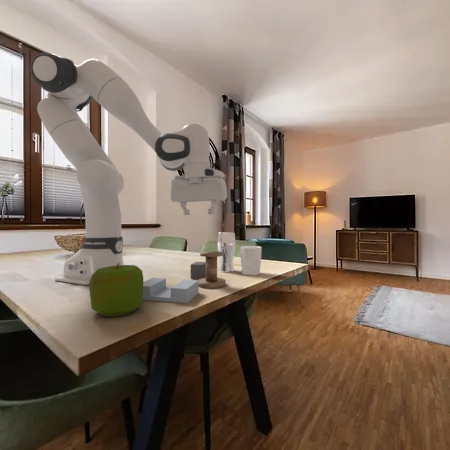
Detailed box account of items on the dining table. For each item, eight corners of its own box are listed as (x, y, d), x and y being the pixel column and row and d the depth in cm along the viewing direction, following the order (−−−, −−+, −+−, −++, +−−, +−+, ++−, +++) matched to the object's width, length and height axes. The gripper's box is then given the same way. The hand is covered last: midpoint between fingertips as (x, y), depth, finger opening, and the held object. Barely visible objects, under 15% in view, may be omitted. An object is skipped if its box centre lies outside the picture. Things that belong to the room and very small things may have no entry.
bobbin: (192, 287, 78) (192, 254, 78) (201, 280, 87) (201, 250, 86) (222, 289, 76) (222, 255, 76) (228, 281, 85) (228, 251, 85)
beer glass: (224, 268, 108) (224, 232, 107) (238, 270, 104) (238, 232, 103) (213, 271, 102) (213, 232, 102) (228, 273, 98) (228, 233, 98)
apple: (133, 300, 66) (132, 257, 66) (152, 312, 58) (152, 262, 57) (84, 310, 58) (83, 262, 58) (98, 325, 50) (97, 269, 50)
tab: (190, 279, 89) (190, 264, 89) (196, 275, 95) (196, 261, 95) (201, 279, 88) (201, 265, 88) (206, 275, 94) (206, 262, 94)
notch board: (135, 299, 67) (134, 285, 66) (152, 289, 75) (152, 277, 75) (186, 303, 64) (186, 288, 63) (198, 292, 72) (198, 280, 72)
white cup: (260, 276, 93) (260, 248, 93) (238, 275, 95) (238, 247, 94) (262, 271, 101) (262, 246, 101) (241, 271, 102) (241, 245, 102)
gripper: (166, 175, 90) (167, 215, 90) (221, 169, 83) (222, 213, 83) (176, 177, 96) (177, 215, 96) (228, 172, 88) (229, 213, 89)
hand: (198, 214), depth 90 cm, fingers open, 8 cm apart
